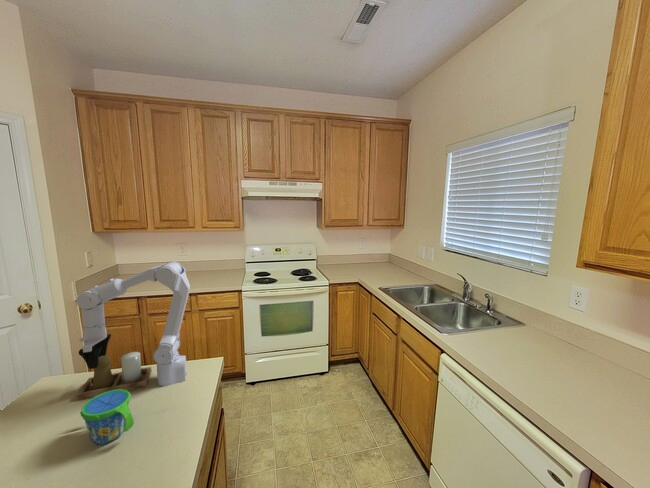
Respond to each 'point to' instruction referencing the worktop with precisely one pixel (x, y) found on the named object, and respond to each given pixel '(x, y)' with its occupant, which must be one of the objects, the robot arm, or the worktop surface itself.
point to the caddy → (89, 393)
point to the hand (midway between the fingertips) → (97, 362)
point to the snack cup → (107, 416)
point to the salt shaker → (131, 367)
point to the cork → (103, 374)
